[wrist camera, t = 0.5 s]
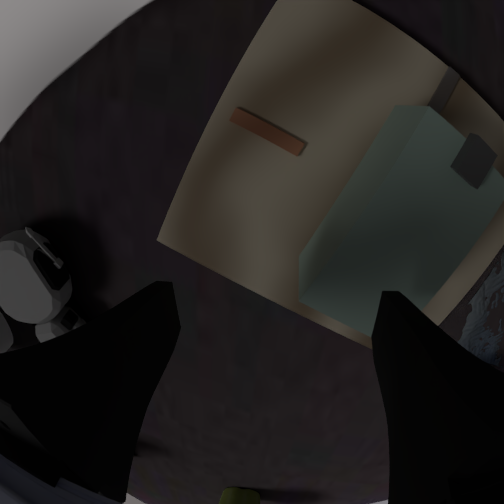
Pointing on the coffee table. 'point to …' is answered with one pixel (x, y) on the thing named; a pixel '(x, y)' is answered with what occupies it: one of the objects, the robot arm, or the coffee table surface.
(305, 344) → the coffee table surface
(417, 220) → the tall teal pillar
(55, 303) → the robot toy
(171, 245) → the base
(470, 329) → the stuffed giraffe
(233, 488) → the plant pot
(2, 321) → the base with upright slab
